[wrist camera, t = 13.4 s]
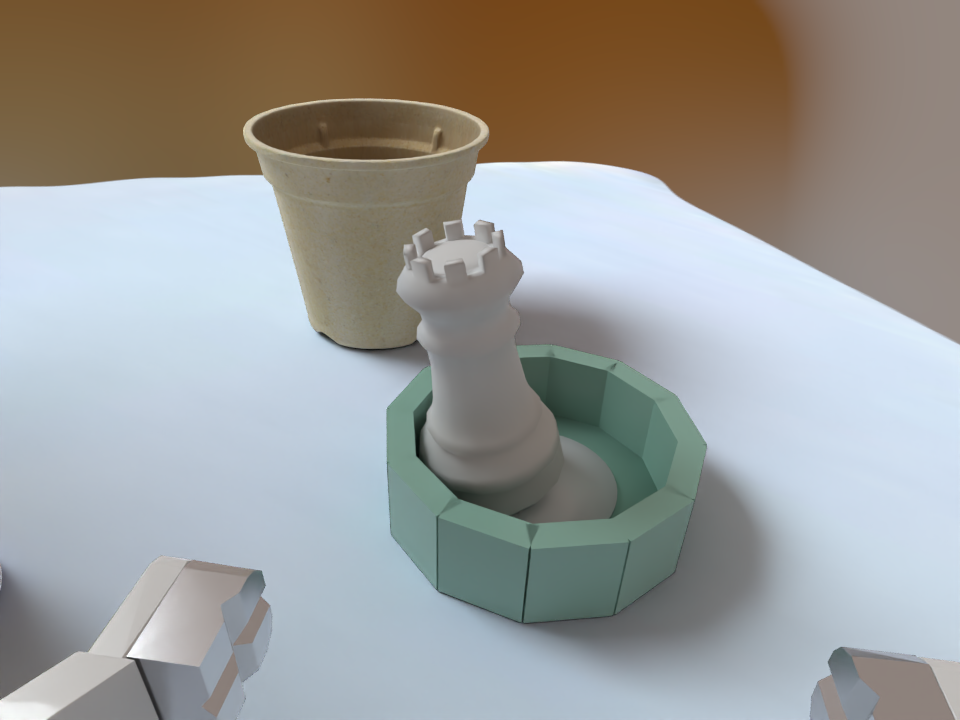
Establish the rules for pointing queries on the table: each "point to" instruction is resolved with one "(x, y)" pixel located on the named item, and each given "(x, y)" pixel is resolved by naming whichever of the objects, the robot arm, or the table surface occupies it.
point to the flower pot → (363, 202)
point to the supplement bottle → (0, 576)
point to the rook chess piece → (478, 372)
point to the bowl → (558, 496)
